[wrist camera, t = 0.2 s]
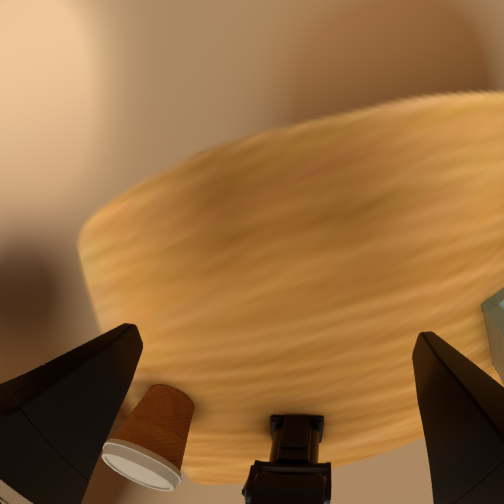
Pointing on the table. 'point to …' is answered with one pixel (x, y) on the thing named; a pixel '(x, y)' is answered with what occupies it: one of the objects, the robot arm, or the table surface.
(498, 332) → the teal plastic shell
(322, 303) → the table surface
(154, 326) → the table surface
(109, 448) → the disposable coffee cup
